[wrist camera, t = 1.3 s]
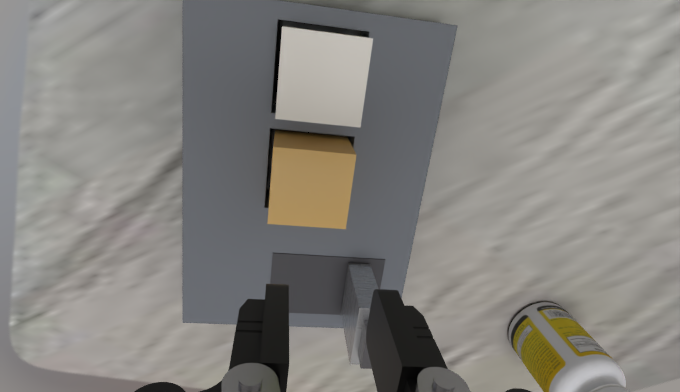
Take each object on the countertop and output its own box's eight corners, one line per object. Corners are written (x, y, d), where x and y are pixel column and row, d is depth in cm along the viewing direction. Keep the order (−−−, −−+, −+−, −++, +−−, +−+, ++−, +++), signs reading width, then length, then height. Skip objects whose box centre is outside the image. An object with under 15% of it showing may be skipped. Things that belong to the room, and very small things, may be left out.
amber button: (275, 129, 27) (273, 146, 23) (347, 136, 28) (356, 154, 24) (270, 197, 29) (267, 223, 25) (338, 203, 29) (345, 229, 26)
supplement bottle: (518, 361, 39) (587, 464, 30) (497, 318, 37) (565, 415, 28) (574, 334, 38) (663, 430, 29) (557, 289, 36) (646, 377, 27)
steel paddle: (348, 263, 30) (362, 321, 24) (370, 264, 30) (389, 322, 24) (340, 313, 31) (352, 379, 25) (361, 313, 31) (378, 379, 25)
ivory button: (283, 25, 25) (282, 26, 21) (360, 36, 26) (373, 38, 22) (276, 105, 27) (275, 118, 23) (350, 113, 27) (360, 127, 24)
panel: (194, -10, 26) (182, -14, 23) (440, 25, 28) (458, 25, 25) (191, 297, 33) (182, 323, 30) (386, 305, 35) (395, 330, 32)
